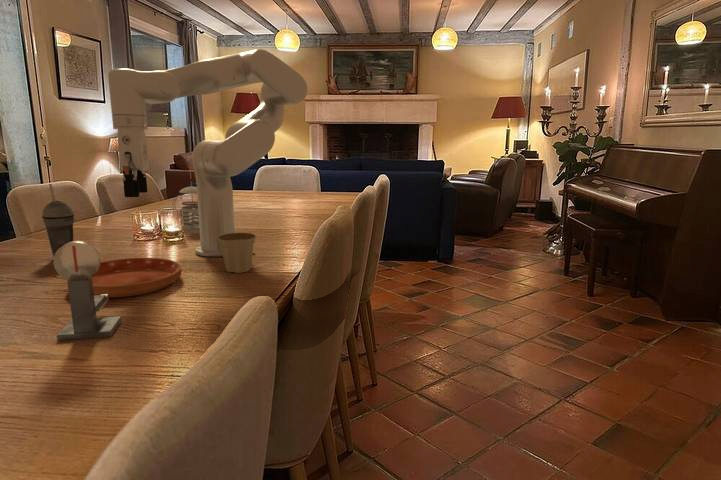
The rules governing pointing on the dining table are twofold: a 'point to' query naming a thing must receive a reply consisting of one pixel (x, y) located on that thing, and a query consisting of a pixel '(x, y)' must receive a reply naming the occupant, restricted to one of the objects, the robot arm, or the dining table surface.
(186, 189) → the french press
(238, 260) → the flower pot
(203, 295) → the dining table surface
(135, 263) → the saucer
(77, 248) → the indicator stand
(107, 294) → the plunger
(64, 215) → the beverage cup
